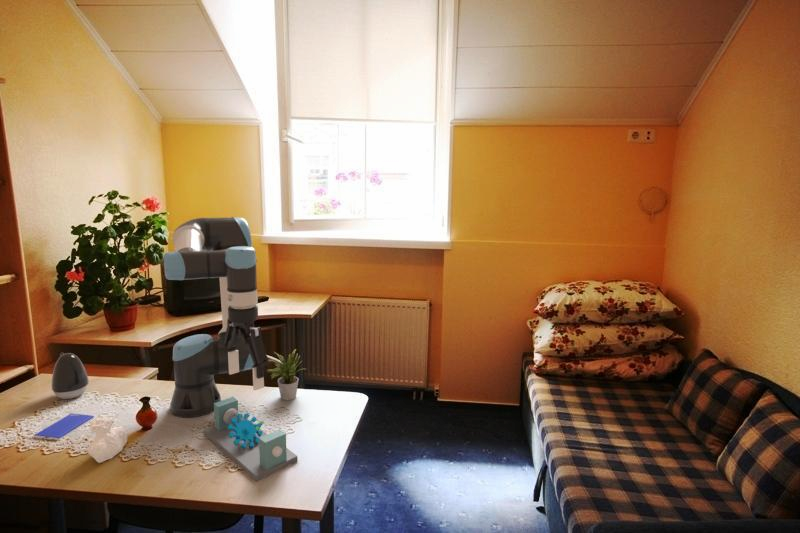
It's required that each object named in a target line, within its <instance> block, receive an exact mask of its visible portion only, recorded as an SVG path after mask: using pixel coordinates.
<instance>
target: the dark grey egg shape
mask: <svg viewBox="0 0 800 533" xmlns="http://www.w3.org/2000/svg"><path fill="white" fill-rule="evenodd" d="M59 355H60V356H59V357H58V359H57V360H56V362H55V364H54V368H53V371H52V372H53V373H52V378H51V391H52V392H53V393H54V395H55V396H56V397H57V398H58V399H63V400H71V399H75V398H78V397H80V396H81V395H82V394H84V393H85V392H86V391H87V389H88V385H89V377H88V373H87V371H86V368H85V366H84V365H83V362H82V361H81V359H80V358H79V357H78V356H77V355H76V354H74V353H71V352H67V353H66V352H65V353H64V352H60V353H59Z"/></svg>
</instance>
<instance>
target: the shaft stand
mask: <svg viewBox="0 0 800 533" xmlns="http://www.w3.org/2000/svg"><path fill="white" fill-rule="evenodd" d="M238 414H240V413H239V400H238V399H237V398H235V397H234V396H232V397H229V398H225V399H223V400H221V401H219V402H216V403H214V410H213V415H214V425H213V426H212V427H209V428H207V429H203V431H204V432H203V433H204V434H203V435H204V436H206V437H207V439H208V440H210V442H212V443H213V444H214V445H215V446H216V447H217V448H219V450H221V451H222V452H223V453H224V454H225V455H226V456H228V458H229V459H230V460H232V461H233V462H234V463H235V464H236V465H237V466H239V467H240V468H241V470H242V471H244V472H245V473H246V474H247V475H249V476H250V477H251V478H252V479H253V480H254V481H255V482H258V481H260V480H263V479H264V478H266V477H269V476H270V475H273V474H274V473H276V472H278V471H280V470H283V469H285V468H286V467H289V466H290V465H292V464H294V463H296V462H298V461H299V460H298V455H297V454H295V453H294V452H293V451H292V450H290V449H289V448H287V433H286V432H285V431H283V430H281V429H277V430H275V431H272V432H270V433H267V432H265V431H264V430H263V429H262V428H260V429H259V430H258V431H262V432H263V433H262V435H261V436H260V437H259V436H258V435H257V433H255V434H256V436H257V437H258V438H259V442H258V443H255V439H254V438H253V443H254V447H252V448H250V447H249V444H250V441H247V444H246V445H247V446H246V447H245V448H244V449H243V448H241V445H242V444H243V443H244V441H243V440H242V441H239V443H238V444H237V445H235V444H234V443H233V441H234V440H235V438H236V437H232V438H229V433H230V432H233V433H234V434H236V433H235V432H234V431H232V430H228V429H227V428H228V426H229V425H230V424H232V425H233V427H234V428H235V425H234V424H233V423H232V422H231V421H230V420H231V419H232V418H234V417H235V418H236V423H238V418H237V415H238ZM241 420H244V415H242V417H241ZM247 420H248V421H249V420H250V419H248V418H247ZM252 424H254V422H252Z"/></svg>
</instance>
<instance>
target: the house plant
mask: <svg viewBox="0 0 800 533" xmlns="http://www.w3.org/2000/svg"><path fill="white" fill-rule="evenodd" d="M296 352H297V348H295V349H293V351H292V353H289V355H288V357H287V361H286V360H285V358H284V356H282V355H281V354H279V353H277V352H275V351H273V353H274V354H276V355H277V357H278V359H279V361H280V363H281V364H280V363H279V362H277V361H276V360H274V359H269V362H273V363H274V365H275V366H277V367H275V368H273V369H271V368H270V369H266V371H267V372H271V373H272V374H270V377H271V378H270V379H271V380H272V379H274V378H276V377H279V378H278V379H277V384H278V390H279V394H280V399H281V400H283V401H291V400H294V399H296V398H297V392H298V385H299V377H297V376H295V375H296V374H297V373H298V372H299V371H301V370H306V368H304V367H303V368H300V369H298V370H297V367H299V365H300V364H301V363H302V362H303V360H301V361H300V362H299V360H300V357H301V355H299V356H298V353H296ZM295 353H296V356H295Z"/></svg>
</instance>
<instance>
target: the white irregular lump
mask: <svg viewBox="0 0 800 533" xmlns="http://www.w3.org/2000/svg"><path fill="white" fill-rule="evenodd" d="M113 424H114V423H113V421H112V420H111V416H107V417H98V418H97V417H96V418H94V419H93V420H91V421H90V422H89V428H90V431H91V433H92V434H95V433H96V435H95V436H94V438H93V440H91V441H90V444H89V445H88V449H87V451H86V452H87V454H88V455H89V456H91V457H92V458H93V459H94V460H95V461H96V462H97V463H98V464H100V463H104V462H106V461H109V460H111V459H113V458H114V457H115V456H117V455H118V454H119V453H120V452H122V451H123V448H124V446H125V445H126V444H127V442H128V437H129V436H128V432H127V430H126V429H125V427H124V426H120V425H119V426H115V427H112V426H113Z"/></svg>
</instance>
